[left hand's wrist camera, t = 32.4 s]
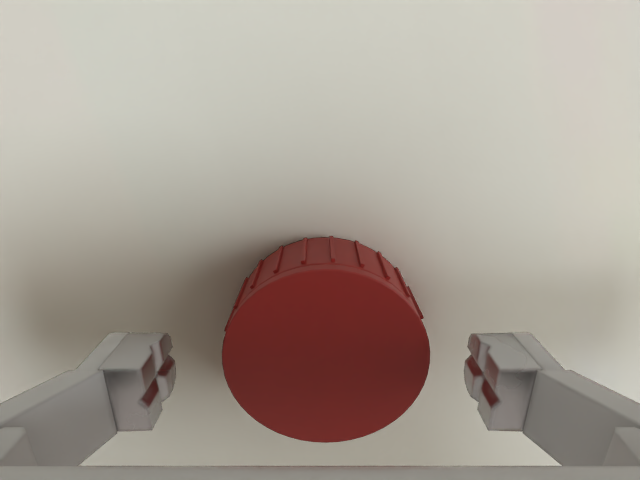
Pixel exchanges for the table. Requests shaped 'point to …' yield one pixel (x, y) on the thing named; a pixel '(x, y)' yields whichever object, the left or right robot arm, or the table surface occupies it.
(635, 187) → the table surface
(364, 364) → the lid
